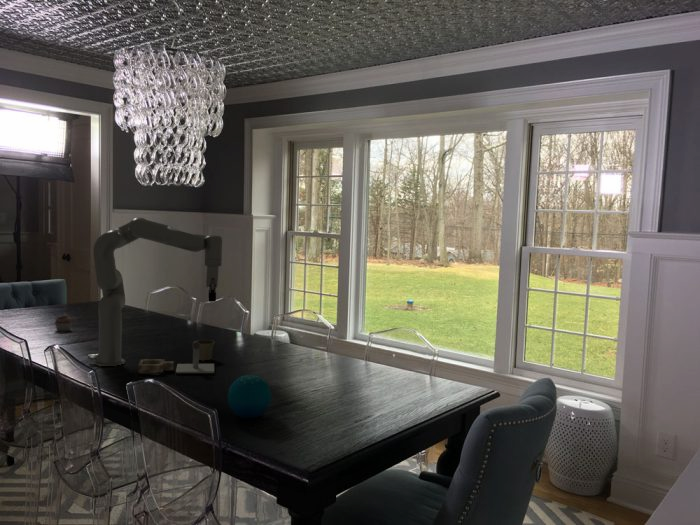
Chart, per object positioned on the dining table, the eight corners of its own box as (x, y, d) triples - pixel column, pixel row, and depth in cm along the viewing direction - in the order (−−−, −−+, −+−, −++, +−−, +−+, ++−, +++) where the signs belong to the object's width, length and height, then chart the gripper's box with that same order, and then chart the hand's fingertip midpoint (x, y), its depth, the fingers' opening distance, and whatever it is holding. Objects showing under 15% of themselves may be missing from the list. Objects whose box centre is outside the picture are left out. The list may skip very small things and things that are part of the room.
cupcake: (55, 329, 336) (55, 311, 335) (73, 329, 338) (73, 311, 338) (52, 332, 327) (52, 314, 326) (71, 332, 330) (71, 314, 329)
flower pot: (193, 362, 280) (194, 344, 279) (193, 357, 289) (194, 339, 288) (214, 362, 283) (215, 344, 282) (213, 357, 292) (214, 339, 291)
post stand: (175, 375, 258) (176, 344, 257) (177, 367, 271) (178, 337, 270) (214, 374, 262) (215, 344, 261) (213, 366, 274) (214, 338, 273)
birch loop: (137, 374, 256) (138, 365, 256) (140, 368, 266) (140, 359, 265) (172, 374, 259) (172, 365, 259) (173, 368, 269) (173, 359, 269)
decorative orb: (272, 411, 219) (274, 370, 217) (268, 425, 204) (269, 382, 203) (230, 409, 218) (232, 368, 217) (223, 424, 203) (224, 380, 202)
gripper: (204, 260, 283) (203, 296, 285) (204, 264, 267) (203, 302, 268) (221, 261, 285) (220, 297, 287) (222, 264, 268) (220, 302, 270)
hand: (212, 299), depth 277 cm, fingers open, 9 cm apart
